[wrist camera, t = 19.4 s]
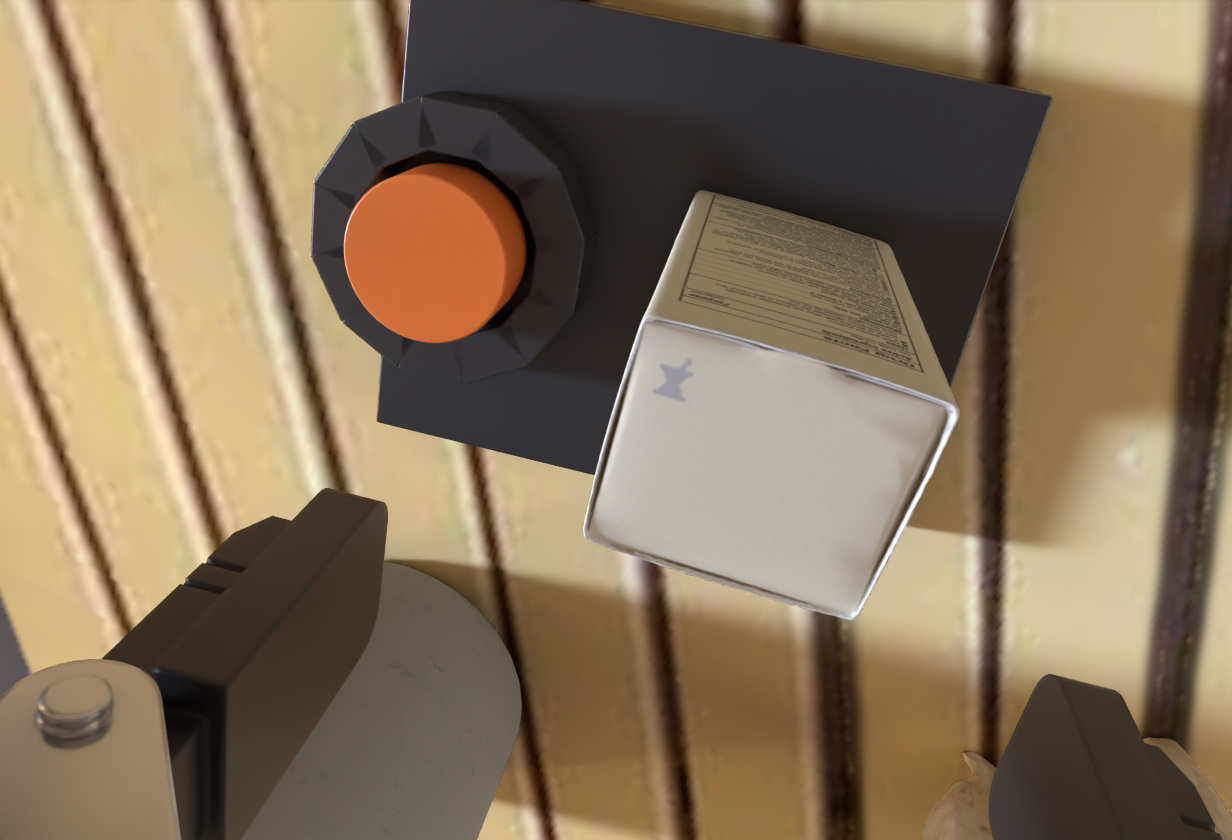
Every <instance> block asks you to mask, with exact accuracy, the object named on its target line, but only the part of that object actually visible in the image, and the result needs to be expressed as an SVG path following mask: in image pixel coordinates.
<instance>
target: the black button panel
mask: <svg viewBox="0 0 1232 840" xmlns="http://www.w3.org/2000/svg"><path fill="white" fill-rule="evenodd" d="M1051 102H1052V97H1051V96H1049V95H1046V94H1043V93H1041V92H1038V91H1033V90H1028V89H1023V88H1018V87H1013V86H1008V85H1003V84H998V83H993V82H988V81H983V80H978V79H973V78H968V77H963V76H958V75H953V74H948V73H943V72H938V71H933V70H928V69H923V68H918V67H913V66H908V65H903V64H898V63H893V62H888V61H883V60H878V59H873V58H868V57H863V56H858V55H853V54H847V53H842V52H837V51H832V50H827V49H822V48H817V47H812V46H807V45H802V44H797V43H792V42H787V41H782V40H777V39H772V38H767V37H762V36H757V35H752V34H747V33H742V32H737V31H732V30H727V29H722V28H717V27H712V26H707V25H702V24H697V23H692V22H687V21H682V20H677V19H672V18H667V17H662V16H657V15H652V14H647V13H642V12H637V11H632V10H627V9H622V8H617V7H612V6H607V5H602V4H597V3H591V2H586V1H581V0H409V12H408V24H407V37H406V50H405V63H404V75H403V88H402V101H401V103H400V104H398V105H395V106H392V107H390V108H387V109H385V110H382V111H380V112H377V113H375V114H372V115H370V116H367V117H365V118H362V119H359V120H357V121H355V122H354V124H352V125H351V126H350V128H349V129H348V131H347V132H346V134H345V135H344V137H343V138H342V140H341V141H340V143H339V144H338V146H337V147H336V149H335V150H334V152H333V153H332V155H331V156H330V158H329V159H328V161H327V162H326V164H325V165H324V167H323V168H322V170H321V171H320V173H319V174H318V176H317V177H316V179H315V183H314V189H313V212H312V236H311V253H312V255H311V257H312V259H313V261H314V264H315V266H316V268H317V270H318V272H319V274H320V277H321V279H322V281H323V283H324V285H325V287H326V290H327V292H328V294H329V296H330V298H331V300H332V303H333V305H334V307H335V309H336V311H337V313H338V316H339V318H340V320H341V321H343V323H344V324H345V325H346V326H347V327H349V328H350V329H351V330H352V331H353V332H355V333H356V334H357V335H358V336H359V337H361V338H362V339H363V340H364V341H365V342H366V343H368V344H369V345H370V346H371V347H372V348H374V349H375V350H376V351H377V352H378V353H380V354H381V355H382V356H381V369H380V382H379V395H378V407H377V422H379V423H383V424H387V425H392V426H396V427H400V428H404V429H408V430H412V431H416V432H420V433H424V434H428V435H433V436H437V437H441V438H445V439H449V440H453V441H457V442H461V443H465V444H469V445H473V446H478V447H482V448H486V449H490V450H494V451H498V452H502V453H506V454H510V455H514V456H518V457H523V458H527V459H531V460H535V461H539V462H543V463H547V464H551V465H555V466H559V467H564V468H568V469H572V470H576V471H580V472H584V473H588V474H592V475H595V473H596V469H597V465H598V461H599V457H600V453H601V450H602V446H603V443H604V439H605V435H606V432H607V428H608V425H609V421H610V418H611V414H612V411H613V408H614V405H615V401H616V398H617V395H618V392H619V388H620V385H621V382H622V379H623V375H624V372H625V369H626V366H627V363H628V360H629V357H630V353H631V350H632V347H633V344H634V341H635V338H636V335H637V332H638V329H639V326H640V324H641V321H642V319H643V317H644V315H645V313H646V310H647V308H648V306H649V304H650V301H651V299H652V297H653V294H654V292H655V290H656V287H657V285H658V282H659V280H660V277H661V275H662V273H663V270H664V268H665V266H666V263H667V261H668V258H669V256H670V253H671V251H672V248H673V246H674V243H675V241H676V238H677V236H678V234H679V232H680V229H681V227H682V224H683V222H684V219H685V217H686V215H687V212H688V210H689V208H690V205H691V203H692V201H693V199H694V197H695V194H696V193H697V192H698V191H701V190H704V191H709V192H713V193H717V194H721V195H725V196H728V197H733V198H737V199H740V200H744V201H747V202H751V203H755V204H759V205H763V206H766V207H770V208H774V209H777V210H781V211H784V212H788V213H791V214H795V215H798V216H802V217H805V218H809V219H812V220H815V221H819V222H822V223H825V224H829V225H832V226H835V227H838V228H842V229H845V230H848V231H851V232H854V233H857V234H860V235H864V236H867V237H870V238H873V239H876V240H880V241H882V242H885V243H887V244H888V245H889V246H890V248H891V249H892V251H893V253H894V256H895V259H896V261H897V264H898V266H899V268H900V271H901V273H902V275H903V277H904V280H905V283H906V285H907V287H908V290H909V292H910V295H911V297H912V299H913V302H914V304H915V306H916V309H917V311H918V313H919V316H920V318H921V320H922V322H923V324H924V328H925V330H926V332H927V334H928V336H929V339H930V342H931V344H932V347H933V349H934V351H935V353H936V356H937V358H938V361H939V363H940V366H941V368H942V370H943V372H944V374H945V377H946V379H947V382H948V384H949V387H950V388H951V385H952V382H953V379H954V376H955V374H956V371H957V368H958V365H959V362H960V359H961V357H962V354H963V351H964V348H965V345H966V343H967V340H968V337H969V334H970V331H971V328H972V326H973V323H974V320H975V317H976V314H977V311H978V309H979V306H980V303H981V300H982V297H983V294H984V292H985V289H986V286H987V283H988V280H989V278H990V275H991V272H992V269H993V266H994V263H995V261H996V258H997V255H998V252H999V249H1000V246H1001V244H1002V241H1003V238H1004V235H1005V232H1006V229H1007V227H1008V224H1009V221H1010V218H1011V215H1012V212H1013V210H1014V207H1015V204H1016V201H1017V198H1018V196H1019V193H1020V190H1021V187H1022V184H1023V181H1024V179H1025V176H1026V173H1027V170H1028V167H1029V164H1030V162H1031V159H1032V156H1033V153H1034V150H1035V147H1036V145H1037V142H1038V139H1039V136H1040V133H1041V131H1042V128H1043V125H1044V122H1045V119H1046V116H1047V114H1048V111H1049V108H1050V105H1051ZM433 163H448V164H455V165H459V166H463V167H466V168H469V169H471V170H473V171H476V172H478V173H479V174H481V175H483V176H484V177H486V178H487V179H489V180H490V181H491V182H493V183H494V184H495V185H496V186H497V187H498V188H499V189H500V190H501V191H502V192H503V193H504V194H505V195H506V197H507V198H508V199H509V201H510V202H511V204H512V205H513V207H514V208H515V210H516V212H517V214H518V216H519V219H520V221H521V224H522V227H523V230H524V235H525V240H526V264H525V269H524V273H523V276H522V279H521V282H520V284H519V286H518V288H517V290H516V291H515V293H514V294H513V296H512V297H511V298H510V300H509V301H508V302H507V303H506V304H505V305H504V306H503V307H502V308H501V309H500V310H499V311H498V312H497V313H496V314H495V315H494V316H493V317H492V318H491V319H490V320H489V321H488V322H487V323H486V324H485V325H484V326H483V327H481V328H480V329H479V330H477V331H476V332H474V333H472V334H471V335H469V336H467V337H464V338H462V339H459V340H455V341H451V342H444V343H427V342H421V341H416V340H413V339H409V338H406V337H404V336H402V335H399V334H397V333H395V332H394V331H392V330H390V329H388V328H387V327H386V326H384V325H383V324H382V323H380V322H379V321H378V320H377V319H376V318H375V317H374V316H372V315H371V314H370V312H369V311H368V310H367V309H366V308H365V307H364V305H363V304H362V302H361V301H360V299H359V298H358V297H357V295H356V293H355V291H354V289H353V287H352V285H351V282H350V280H349V277H348V274H347V270H346V266H345V259H344V238H345V231H346V227H347V223H348V220H349V218H350V216H351V213H352V211H353V210H354V208H355V206H356V205H357V203H358V202H359V200H360V199H361V198H362V197H363V196H364V195H365V194H366V193H367V192H368V191H369V190H370V189H371V188H373V187H374V186H376V185H377V184H379V183H380V182H382V181H385V180H387V179H389V178H391V177H394V176H396V175H398V174H401V173H403V172H406V171H408V170H410V169H413V168H415V167H418V166H422V165H425V164H433Z"/></svg>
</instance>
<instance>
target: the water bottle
mask: <svg viewBox="0 0 1232 840" xmlns="http://www.w3.org/2000/svg"><path fill="white" fill-rule="evenodd" d="M521 711H522V702H521V692H520V682H519V679H518V676H517V673H516V670H515V667H514V664H513V661H512V658H511V656H510V654H509V652H508V650H507V648H506V647H505V645H504V643H503V641H502V640H501V638H500V636H499V634H498V632H497V631H496V630H495V628H494V627H493V626H492V625H491V624H490V622H489V621H488V620H487V619H486V618H485V616H484V615H483V614H482V613H481V612H480V610H478V609H477V608H476V607H475V606H474V605H473V604H471V603H470V602H469V601H468V600H467V599H466V598H464V597H463V596H462V595H461V594H460V593H459V592H457V591H455V590H454V589H452V588H451V587H449V586H447V585H446V584H444V583H442V582H441V581H439V580H438V579H436V578H434V577H432V576H429V575H427V574H425V573H422V572H420V571H417V570H415V569H413V568H410V567H407V566H403V565H399V564H395V563H390V562H386V561H384V563H383V573H382V583H381V593H380V603H379V609H378V615H377V619H376V623H375V626H374V629H373V632H372V635H371V638H370V640H369V643H368V645H367V647H366V649H365V651H364V653H363V655H362V656H361V658H360V659H359V661H358V662H357V664H356V665H355V667H354V668H353V670H352V672H351V673H350V675H349V676H348V678H347V679H346V681H345V682H344V684H343V685H342V687H341V688H340V690H339V691H338V693H337V694H336V696H335V697H334V699H333V700H332V702H331V704H330V705H329V707H328V708H327V710H326V711H325V713H324V714H323V716H322V717H321V719H320V720H319V722H318V723H317V725H316V726H315V728H314V729H313V731H312V732H311V734H310V736H309V737H308V739H307V740H306V742H305V743H304V745H303V746H302V748H301V749H300V751H299V752H298V754H297V755H296V757H295V758H294V760H293V761H292V763H291V764H290V766H289V768H288V769H287V771H286V772H285V774H284V775H283V777H282V778H281V780H280V781H279V783H278V784H277V786H276V787H275V789H274V790H273V792H272V793H271V795H270V796H269V798H268V800H267V801H266V803H265V804H264V806H263V807H262V809H261V810H260V812H259V813H258V815H257V816H256V818H255V819H254V821H253V822H252V824H251V825H250V827H249V828H248V830H247V831H246V833H245V835H244V836H243V838H242V839H241V840H477V838H478V836H479V833H480V830H481V828H482V825H483V823H484V820H485V818H486V815H487V813H488V810H489V808H490V805H491V802H492V800H493V797H494V795H495V792H496V790H497V787H498V785H499V782H500V779H501V777H502V774H503V772H504V769H505V767H506V764H507V762H508V759H509V757H510V754H511V751H512V749H513V746H514V744H515V741H516V739H517V736H518V732H519V726H520V719H521Z"/></svg>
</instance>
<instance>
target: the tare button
mask: <svg viewBox="0 0 1232 840" xmlns="http://www.w3.org/2000/svg"><path fill="white" fill-rule="evenodd" d="M344 259H345V266H346V270H347V274H348V277H349V280H350V282H351V285H352V287H353V289H354V291H355V293H356V295H357V297H358V298H359V299H360V301H361V302H362V304H363V305H364V307H365V308H366V309H367V310H368V311H369V312H370V314H371V315H372V316H374V317H375V318H376V319H377V320H378V321H379V322H380V323H382V324H383V325H384V326H386V327H387V328H388V329H390V330H392V331H394V332H395V333H397V334H399V335H402V336H404V337H406V338H409V339H413V340H416V341H421V342H427V343H444V342H451V341H455V340H459V339H462V338H464V337H467V336H469V335H471V334H472V333H474V332H476V331H477V330H479V329H480V328H481V327H483V326H484V325H485V324H486V323H487V322H488V321H489V320H490V319H491V318H492V317H493V316H494V315H495V314H496V313H497V312H498V311H499V310H500V309H501V308H502V307H503V306H504V305H505V304H506V303H507V302H508V301H509V300H510V298H511V297H512V296H513V294H514V293H515V291H516V290H517V288H518V286H519V284H520V282H521V279H522V276H523V273H524V269H525V264H526V240H525V235H524V230H523V227H522V224H521V221H520V219H519V216H518V214H517V212H516V210H515V208H514V207H513V205H512V204H511V202H510V201H509V199H508V198H507V197H506V195H505V194H504V193H503V192H502V191H501V190H500V189H499V188H498V187H497V186H496V185H495V184H494V183H493V182H491V181H490V180H489V179H487V178H486V177H484V176H483V175H481V174H479V173H478V172H476V171H473V170H471V169H469V168H466V167H463V166H459V165H455V164H448V163H433V164H425V165H422V166H418V167H415V168H413V169H410V170H408V171H406V172H403V173H401V174H398V175H396V176H394V177H391V178H389V179H387V180H385V181H382V182H380V183H379V184H377V185H376V186H374V187H373V188H371V189H370V190H369V191H368V192H367V193H366V194H365V195H364V196H363V197H362V198H361V199H360V200H359V202H358V203H357V205H356V206H355V208H354V210H353V211H352V213H351V216H350V218H349V220H348V223H347V227H346V231H345V238H344Z"/></svg>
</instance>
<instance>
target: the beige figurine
mask: <svg viewBox="0 0 1232 840" xmlns="http://www.w3.org/2000/svg"><path fill="white" fill-rule="evenodd" d="M1143 741H1144V743H1146V744H1150V745H1154V746H1158V747H1159V748H1160V749H1161V750H1162V751H1163V752H1164V753H1165V754H1166V755H1167V756H1168V757H1169V758H1170V759H1171V760H1172V762H1173V763H1174V764H1175V765H1176V766H1177V767H1178V768H1179V769H1180V770H1181V771H1182V772H1183V773H1184V774H1185V775H1186V777H1187V778H1188V779H1189V780H1190V781H1191V782H1192V783H1193V784H1194V785H1195V787H1196V789H1197V790H1198V792H1199V794H1200V796H1201V798H1202V800H1203V802H1204V804H1205V806H1206V808H1207V810H1208V812H1209V814H1210V816H1211V818H1212V820H1213V821H1214V823H1215V825H1216V826H1215V832H1216V833H1220V835H1221V837H1222V839H1223V840H1232V814H1231V813H1230V811H1229V810H1228V808H1227V807H1226V805H1225V804H1224V802H1223V801H1222V800H1221V798H1220V797H1219V795H1218V794H1217V792H1216V791H1215V789H1214V787H1213V786H1212V784H1211V782H1210V781H1209V780H1208V778H1207V777H1206V775H1205V774H1204V773H1203V772H1202V771H1201V770H1200V768H1199V767H1198V766H1197V765H1196V764H1195V763H1194V762H1193V761H1192V759H1191V758H1190V757H1189V755H1188V754H1187V753H1186V752H1185V751H1184V750H1183V749H1182V748H1181V747H1180V746H1179V745H1178V744H1177V742H1176V741H1174V740H1171V739H1165V738H1145V739H1143ZM963 756H964V758H965V760H966V763H967V765H968V766H969V768H970V770H971V772H972V781H971V782H970V783H969V782H968V781H966V780H960V781H958V782H955V783H953V784H952V785H951V787H950V788H949V790H948V791H947V792H946V793H945V794H944V795H943V796H942V797H941V798H940V799H939V800H938V801H937V802H936V803H935V804H934V805H933V806H932V808H931V810H930V812H929V815H928V817H927V819H926V821H925V823H924V825H923V831H922V837H921V840H993V837H992V833H991V828H990V823H989V795H990V788H991V784H992V780H993V776H994V773H995V771H996V767H994V766H993V765H992V764H990V763H989V762H988V761H987V760H985V759H984V758H983V757H982V756H981V755H979V754H977V753H975V752H964V753H963Z"/></svg>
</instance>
